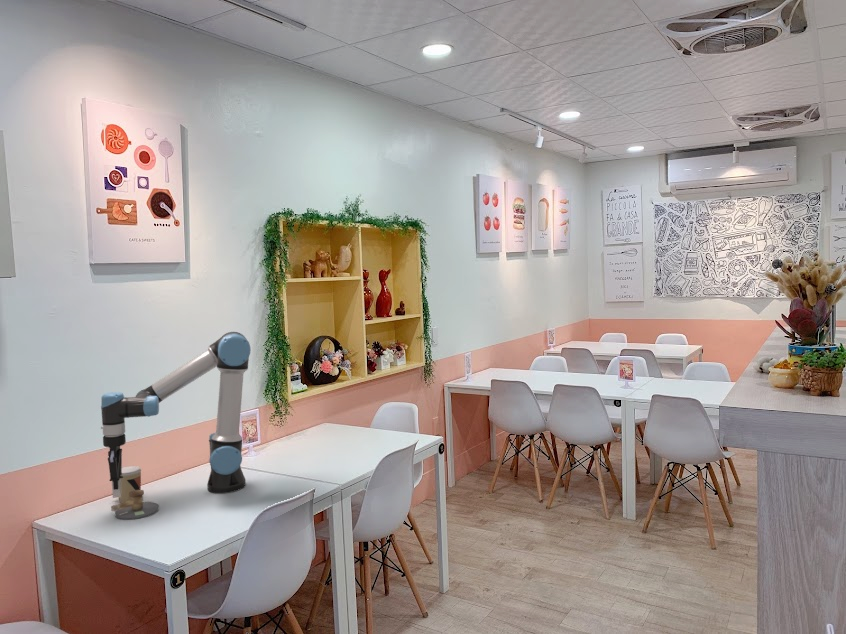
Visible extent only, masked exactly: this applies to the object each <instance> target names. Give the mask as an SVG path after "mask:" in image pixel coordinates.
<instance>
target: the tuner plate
mask: <svg viewBox="0 0 846 634" xmlns="http://www.w3.org/2000/svg"><path fill="white" fill-rule="evenodd" d="M159 510H160V504H159V503H157V502H154V501H143V508H142V509H140V510H131V506H130V507H127V508H124V509H121V510H118V511H115V512H114V516H115V518H116V519H118V520H123V521H128V520H129V521H131V520H133V521H134V520H139V519H143V518H144V519H145V518H147V517H151V516H152V515H155V514H157V513H158V511H159Z"/></svg>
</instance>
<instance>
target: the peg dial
mask: <svg viewBox="0 0 846 634" xmlns="http://www.w3.org/2000/svg"><path fill="white" fill-rule="evenodd" d="M144 495H145V491H144V490H143V489H141V490H134V491H131V492H129V497H131V500H129V501H126V502H119V503H117V504H114V505H111V507H110V508H111V511H112V512H114V513H115V511H118V510H121V509H124V508H127V507H130V506H131V510H140V509H142V508H143V502H144V500H143V496H144Z"/></svg>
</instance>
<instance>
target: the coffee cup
mask: <svg viewBox="0 0 846 634" xmlns="http://www.w3.org/2000/svg"><path fill="white" fill-rule="evenodd" d="M141 472H142V469H141V467H140V466H137V465H136V466H135V465H132V466H131V465H130V466H124V467H122V475H121V476H123V478H120V479H121V497H118V501H119V503H123V502H126V501H129V500H131V497H129V492H131V491H134V490H142V488H141V487H142V486H141V485H142V478H141V477H142V473H141Z"/></svg>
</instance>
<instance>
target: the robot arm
mask: <svg viewBox="0 0 846 634" xmlns="http://www.w3.org/2000/svg"><path fill="white" fill-rule="evenodd" d="M250 344H251V343H250V341H248V339H247V338H246V337H245V335H243V334H242V333H240V332H237V331H229V332H226V333H224V334H223V335H222V336H221V337H219V338H218V339H217V340H216V341H214V342H213V343H211V344H210V345H208V347H207V349H206V350H205V351H204V352H202V353H200V354H199V355H196V357H194V358H192V359H190V360H189V361H187V362H186V363H183V364H182V365H181V366H179V367H178V368H176V369H175V370H173V371H171V372H169V374H167V375H165V376H164V377H162V378H160V379H159V380H157V381H155V382H154V383H152V384H151V385H149V386H147V387H146V388H144V389H141V390H140V391H138V392H137V393H136V395H135V396H133V397H132V396H130V397H125V395H124V393H123V392H120V391H117V392H116V391H114V392H113V391H112V392H106V393H104V394H103V395H102V396H101V405H100V409H101V423H102V426H101V427H100V430H102V435H103V437H102V444H103V446H104V447H106V448H109V451H107V456H108V457H107V461H108V469H109V482H111V486H112V489H111V491H112V499H114V498H119V497H121V479H120V478H123V476H121V475H122V468H123V467H122V466H123V465H122V464H123V463H122V462H123V461H122V460H123V459H122V457H123V454H122V453H123V449H122V448H121V446H124V445H125V444H126V434H125V433H126V421H125V419H126V418H127V419H128V418H129V419H130V418H142V417H153V416H157V415H158V414H159V413H160V403H161V402H162V401H164V400H166V399H167V398H169V397H170V396H173V394H175V393H177V392H178V391H180V390H181V389H183V388H184V387H186V386H188V385H189V384H191V383H192V382H194V381H196V380H198V379H199V378H201V377H203V376H204V375H206V374H207V373H208V372H210V371H211V370H214V369H215V368H217V369H218V371H219V372H220V376H219V389H218V401H217V415H216V425H215V429H216V430H215V432H213V433H210V435H209V438H208V442H209V460H208V461H209V465H210V473H209V477H208V479H207V485H206V487H207V491H208V492H210V493H212V494H213V493H214V494H226V493H234V492H236V491H240V490H242V489H244V488H245V487H246V485H247V483H246V481H247V480H246V478H245V475H244V472H243V470H242V467H241V465H242V462H243V456H242V452H243V451H242V449H243V436H242V435H241V434H240V423H241V422H240V421H241V412H242V411H241V410H242V407H241V406H242V397H243V385H244V384H243V383H244V374H245V373H246V372H247V371H248V370H249V361H250V360H249V359H250V356H251V345H250Z"/></svg>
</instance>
